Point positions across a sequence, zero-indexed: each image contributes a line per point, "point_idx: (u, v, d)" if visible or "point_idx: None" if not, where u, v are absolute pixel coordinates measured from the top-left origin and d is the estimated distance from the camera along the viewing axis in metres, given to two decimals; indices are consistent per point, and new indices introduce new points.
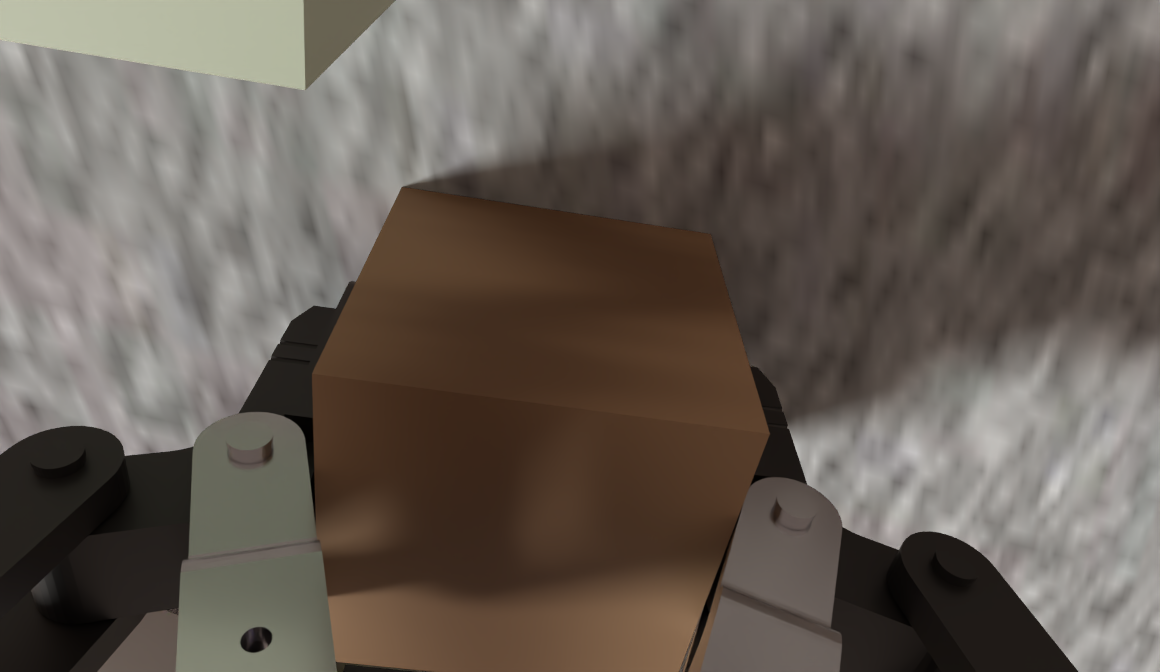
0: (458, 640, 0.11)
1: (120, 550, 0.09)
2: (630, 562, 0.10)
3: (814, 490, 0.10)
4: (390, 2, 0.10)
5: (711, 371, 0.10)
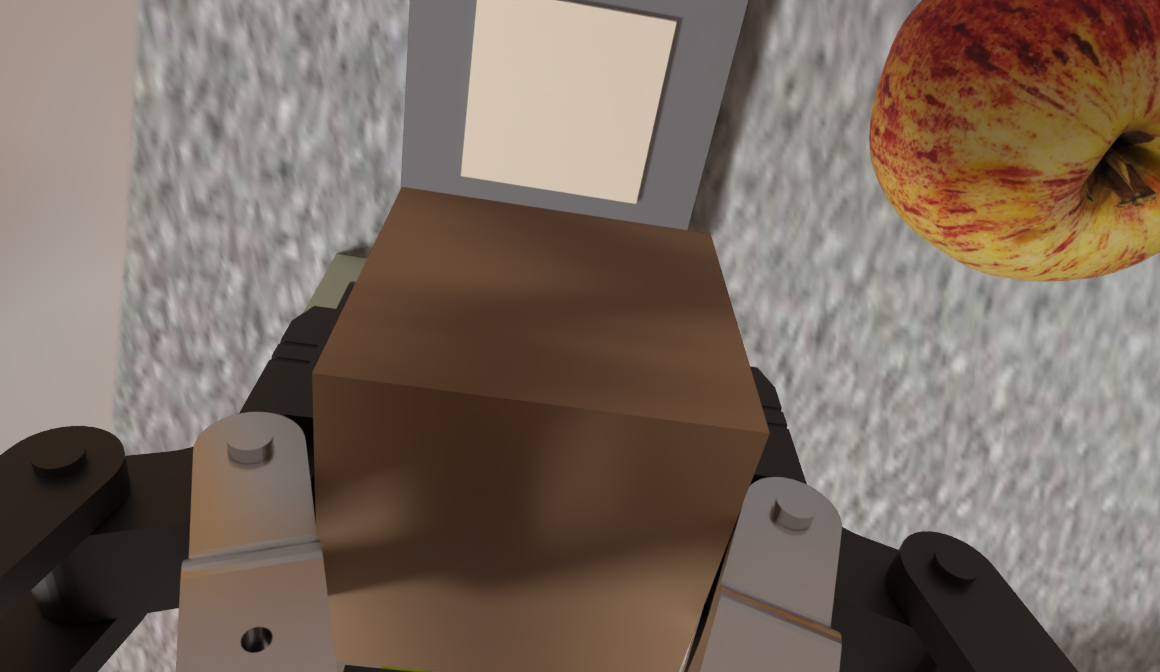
0: (458, 640, 0.11)
1: (120, 550, 0.09)
2: (629, 562, 0.10)
3: (813, 490, 0.10)
4: None
5: (710, 370, 0.10)
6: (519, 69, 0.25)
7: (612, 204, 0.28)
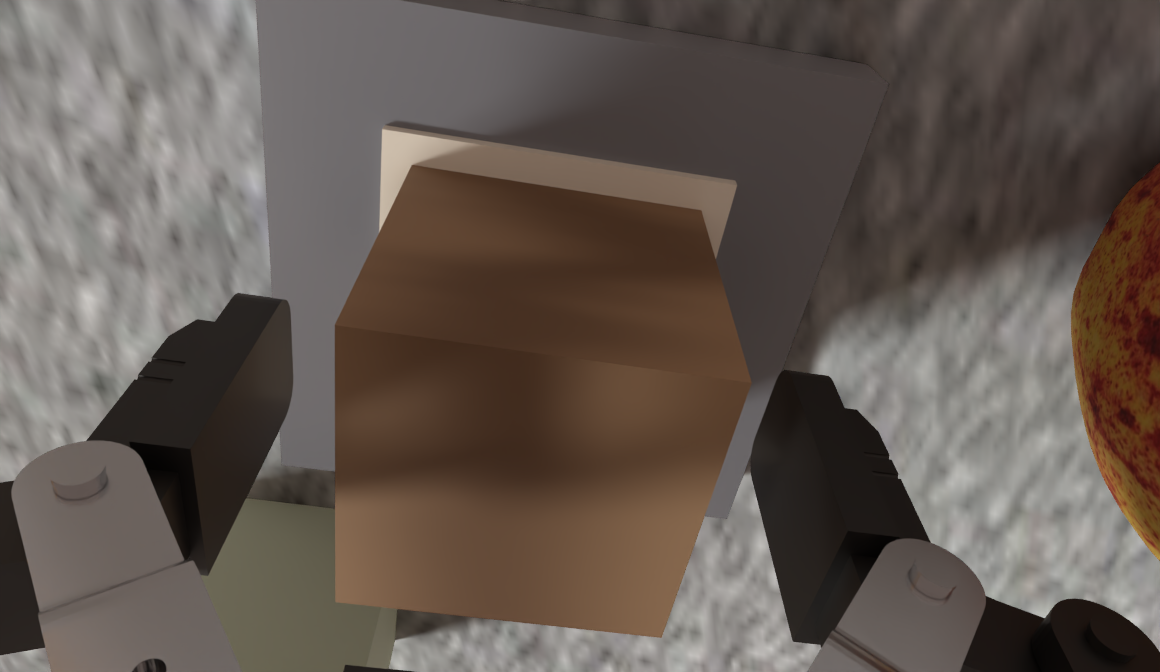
0: (464, 583, 0.12)
1: None
2: (624, 506, 0.11)
3: (961, 562, 0.10)
4: None
5: (699, 329, 0.11)
6: None
7: None
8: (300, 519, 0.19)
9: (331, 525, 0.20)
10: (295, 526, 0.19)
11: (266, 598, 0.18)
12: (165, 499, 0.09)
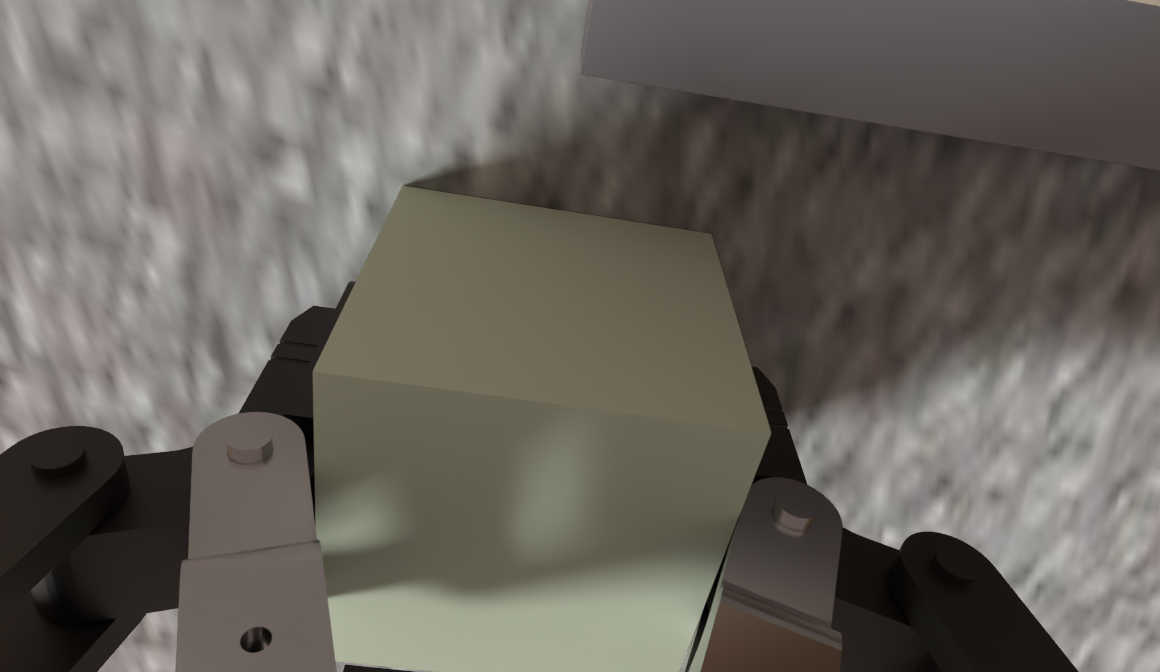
0: None
1: (119, 550, 0.09)
2: None
3: (814, 490, 0.10)
4: None
5: None
6: None
7: None
8: (564, 225, 0.12)
9: (613, 235, 0.12)
10: (560, 231, 0.12)
11: (556, 303, 0.10)
12: None
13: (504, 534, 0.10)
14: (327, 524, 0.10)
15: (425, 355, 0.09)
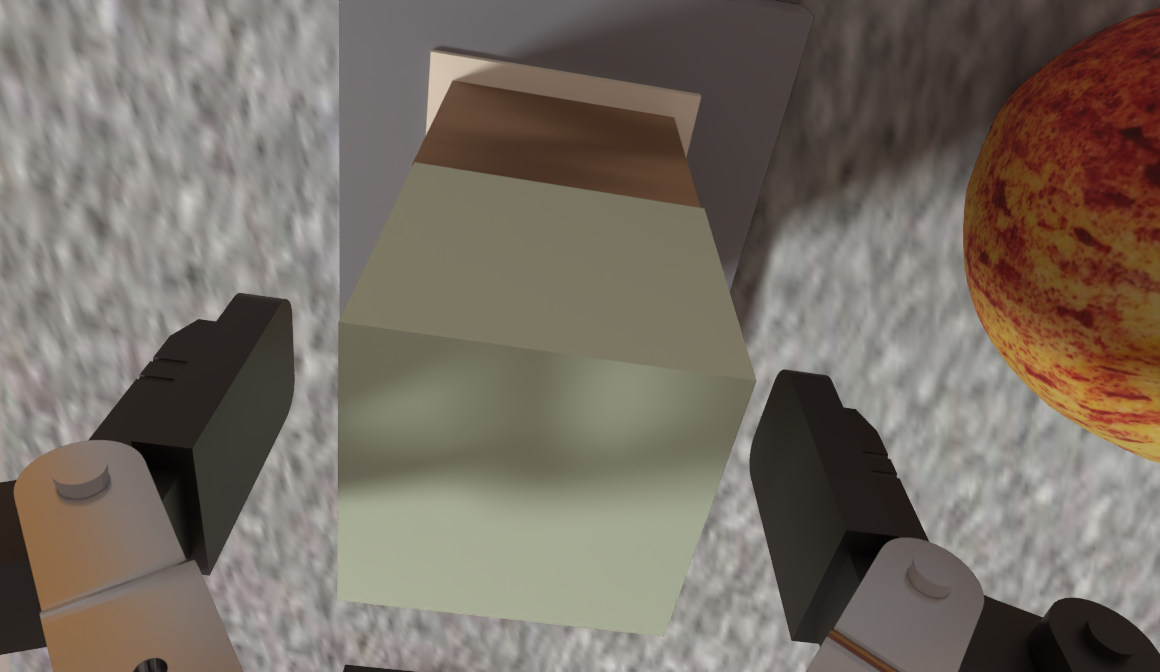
0: None
1: None
2: None
3: (959, 561, 0.10)
4: None
5: (666, 181, 0.15)
6: None
7: None
8: (566, 200, 0.13)
9: (612, 208, 0.13)
10: (563, 205, 0.13)
11: (559, 267, 0.11)
12: (167, 498, 0.09)
13: (512, 477, 0.11)
14: (348, 468, 0.11)
15: (440, 309, 0.10)
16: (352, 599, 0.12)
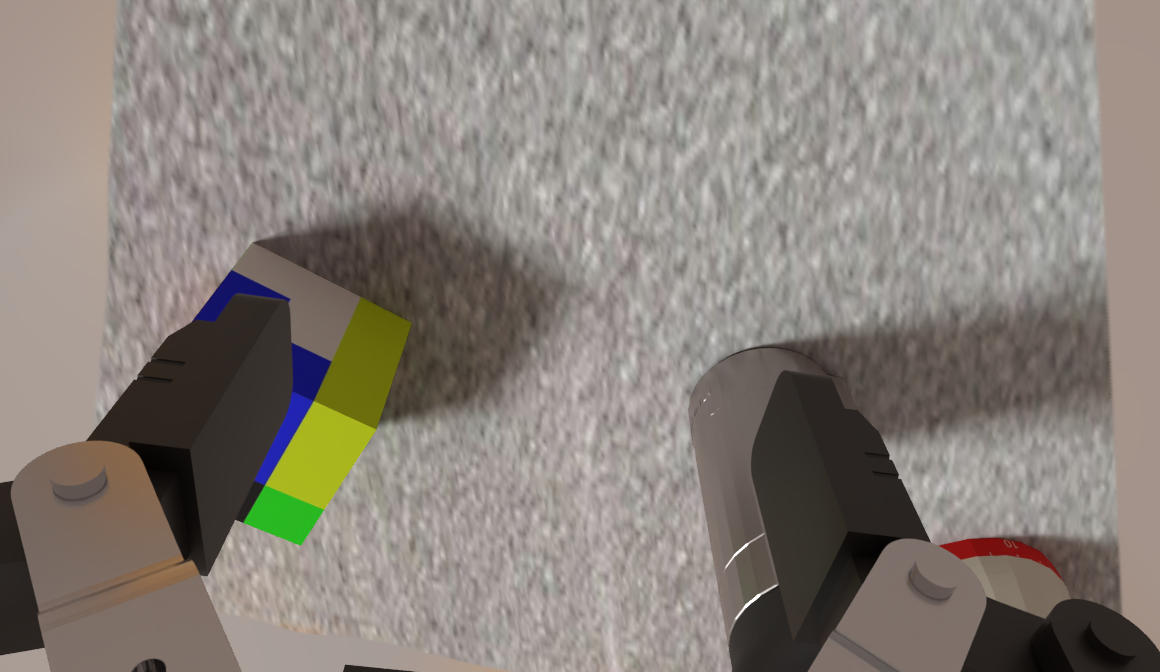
0: None
1: None
2: None
3: (962, 562, 0.10)
4: None
5: None
6: None
7: None
8: None
9: None
10: None
11: None
12: (165, 499, 0.09)
13: None
14: None
15: None
16: None
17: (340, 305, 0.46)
